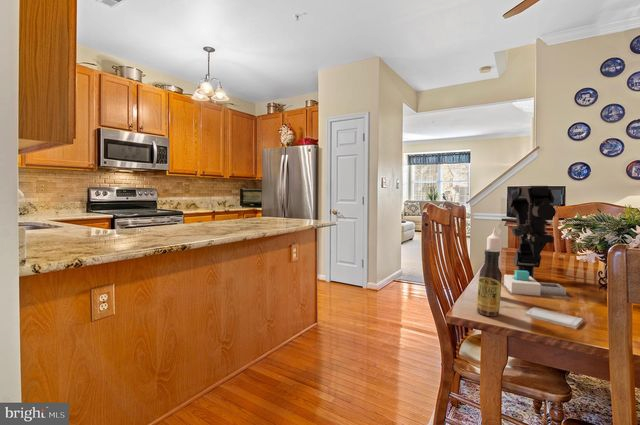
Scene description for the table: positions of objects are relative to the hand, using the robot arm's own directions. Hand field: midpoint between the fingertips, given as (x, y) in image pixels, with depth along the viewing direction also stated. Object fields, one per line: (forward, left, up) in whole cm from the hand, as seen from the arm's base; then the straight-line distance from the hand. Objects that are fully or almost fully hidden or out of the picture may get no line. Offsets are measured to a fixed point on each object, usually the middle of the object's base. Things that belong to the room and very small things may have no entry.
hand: (535, 257), depth 126 cm
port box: (+8, -6, -11) cm, 15 cm away
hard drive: (+34, -4, -13) cm, 37 cm away
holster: (+8, +3, -11) cm, 14 cm away
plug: (+8, -6, -11) cm, 15 cm away
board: (+8, -2, -12) cm, 15 cm away
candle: (+20, -18, -12) cm, 30 cm away
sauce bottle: (+36, -22, -12) cm, 44 cm away
